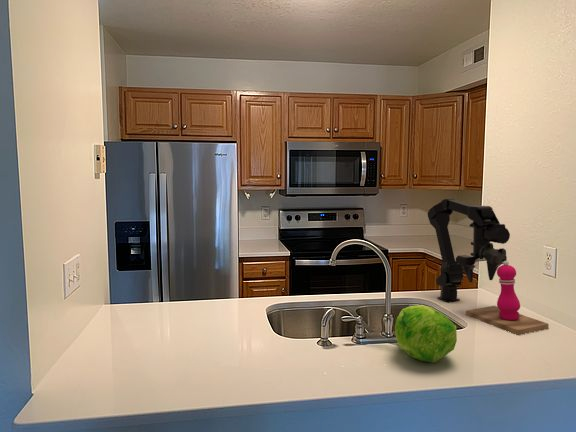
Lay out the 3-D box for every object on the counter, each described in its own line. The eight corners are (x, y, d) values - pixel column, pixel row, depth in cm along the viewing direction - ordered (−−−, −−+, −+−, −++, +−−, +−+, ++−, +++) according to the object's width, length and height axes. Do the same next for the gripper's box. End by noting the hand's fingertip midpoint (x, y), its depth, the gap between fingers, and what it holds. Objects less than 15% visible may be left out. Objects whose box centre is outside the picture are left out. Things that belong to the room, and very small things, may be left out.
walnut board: (466, 317, 156) (466, 310, 156) (494, 312, 161) (494, 305, 161) (517, 337, 136) (517, 330, 136) (548, 331, 141) (548, 323, 141)
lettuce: (437, 350, 131) (442, 302, 131) (463, 374, 111) (468, 317, 111) (384, 344, 131) (388, 296, 132) (399, 367, 111) (405, 310, 111)
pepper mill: (494, 318, 147) (491, 262, 146) (501, 313, 152) (497, 258, 151) (517, 321, 142) (514, 262, 141) (523, 316, 147) (520, 259, 146)
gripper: (476, 244, 146) (476, 289, 147) (519, 241, 151) (518, 283, 153) (455, 240, 156) (454, 281, 158) (495, 237, 162) (494, 277, 163)
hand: (480, 281), depth 157 cm, fingers open, 9 cm apart
